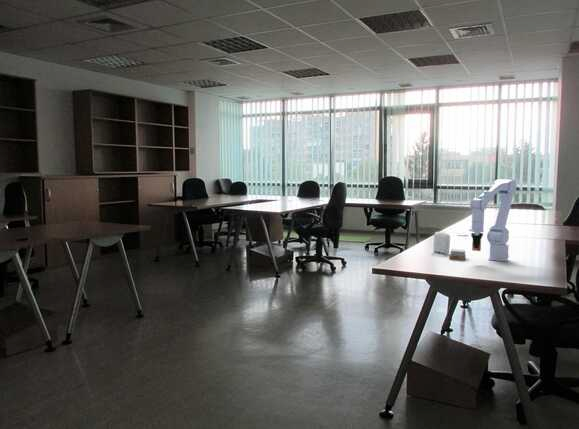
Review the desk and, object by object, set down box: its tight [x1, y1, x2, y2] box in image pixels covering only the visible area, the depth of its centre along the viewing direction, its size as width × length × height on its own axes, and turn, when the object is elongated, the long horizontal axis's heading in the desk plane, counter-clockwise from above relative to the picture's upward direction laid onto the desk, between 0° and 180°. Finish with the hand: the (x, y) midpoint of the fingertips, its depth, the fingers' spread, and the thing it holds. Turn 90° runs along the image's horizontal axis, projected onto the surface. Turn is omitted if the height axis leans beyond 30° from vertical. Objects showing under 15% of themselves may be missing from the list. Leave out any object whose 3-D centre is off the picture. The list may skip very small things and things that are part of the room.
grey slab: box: [450, 248, 466, 257], centre depth 264 cm, size 7×7×2 cm
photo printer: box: [433, 231, 451, 255], centre depth 282 cm, size 10×4×12 cm, turn 28°
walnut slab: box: [448, 252, 467, 261], centre depth 264 cm, size 8×8×2 cm
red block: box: [471, 239, 482, 252], centre depth 251 cm, size 4×4×5 cm
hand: (476, 247), depth 251 cm, fingers closed on red block, 4 cm apart
